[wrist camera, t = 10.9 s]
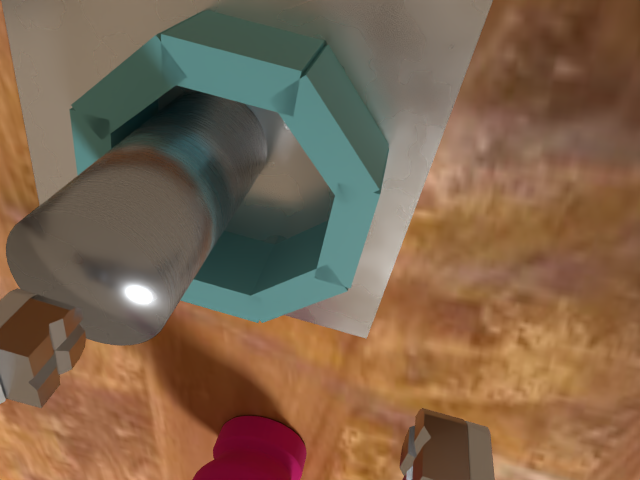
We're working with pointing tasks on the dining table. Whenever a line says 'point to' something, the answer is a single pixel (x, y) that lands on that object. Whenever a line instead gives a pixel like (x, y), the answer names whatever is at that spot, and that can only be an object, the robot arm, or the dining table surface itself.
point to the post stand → (216, 152)
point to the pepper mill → (255, 452)
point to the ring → (301, 118)
